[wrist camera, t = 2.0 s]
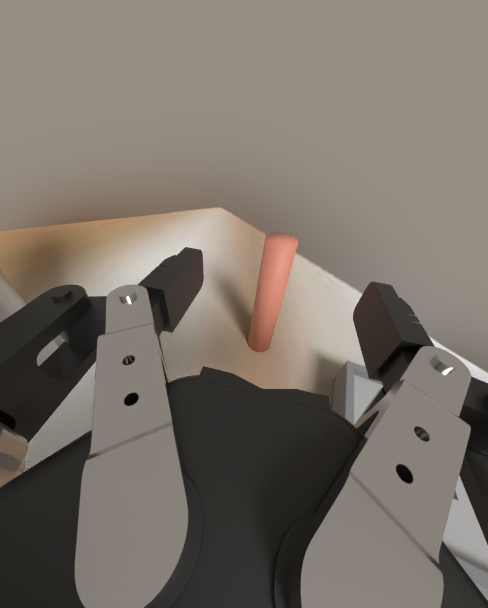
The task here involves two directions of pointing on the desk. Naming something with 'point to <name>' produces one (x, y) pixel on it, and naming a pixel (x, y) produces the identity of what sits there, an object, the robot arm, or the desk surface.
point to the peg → (271, 287)
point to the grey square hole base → (462, 520)
